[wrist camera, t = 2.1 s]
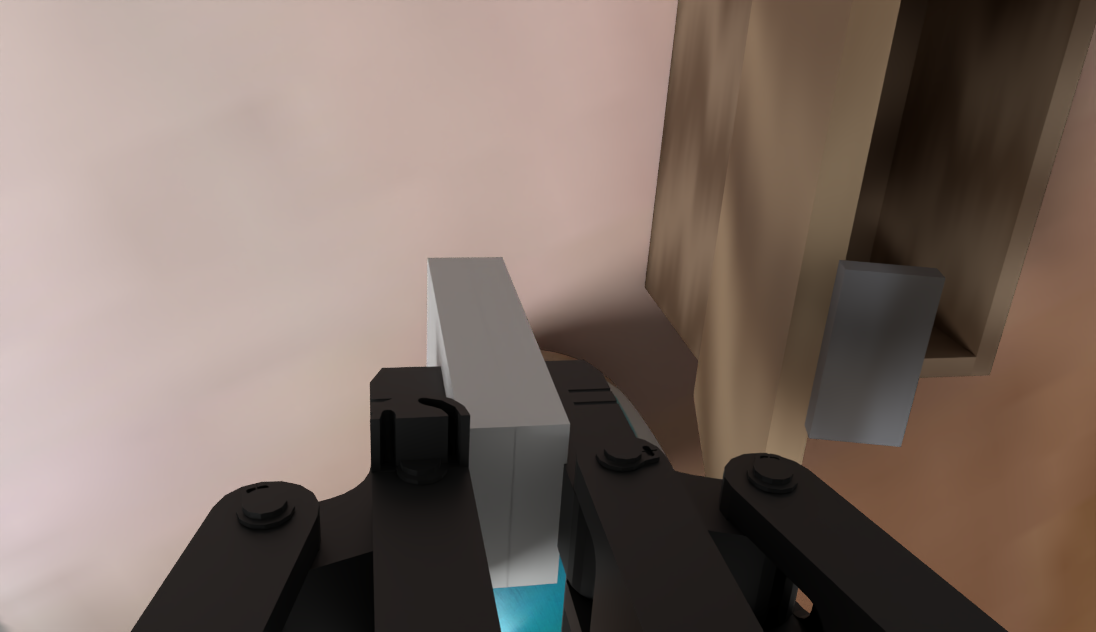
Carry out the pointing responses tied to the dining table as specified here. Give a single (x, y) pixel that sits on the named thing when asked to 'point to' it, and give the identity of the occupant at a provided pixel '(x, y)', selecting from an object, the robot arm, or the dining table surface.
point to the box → (893, 156)
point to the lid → (807, 249)
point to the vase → (539, 608)
